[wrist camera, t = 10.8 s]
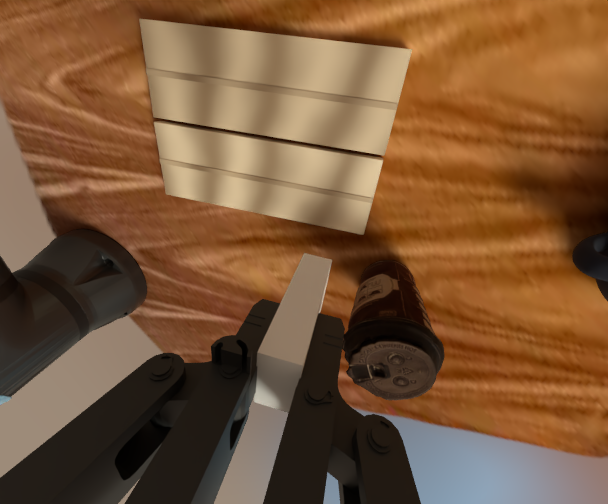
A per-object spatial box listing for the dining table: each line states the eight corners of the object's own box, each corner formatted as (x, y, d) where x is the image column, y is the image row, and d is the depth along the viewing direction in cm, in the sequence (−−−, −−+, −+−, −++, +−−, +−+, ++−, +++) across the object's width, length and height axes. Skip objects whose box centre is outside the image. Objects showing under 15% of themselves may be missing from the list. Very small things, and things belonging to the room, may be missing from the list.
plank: (172, 191, 34) (165, 194, 33) (161, 120, 30) (153, 121, 28) (364, 230, 31) (363, 235, 30) (382, 157, 26) (383, 160, 25)
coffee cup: (338, 290, 35) (321, 377, 24) (369, 239, 31) (366, 316, 20) (399, 318, 35) (411, 419, 24) (438, 271, 31) (475, 367, 20)
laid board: (161, 116, 29) (152, 117, 28) (148, 21, 25) (138, 18, 24) (384, 153, 26) (384, 155, 25) (410, 51, 22) (412, 49, 21)
